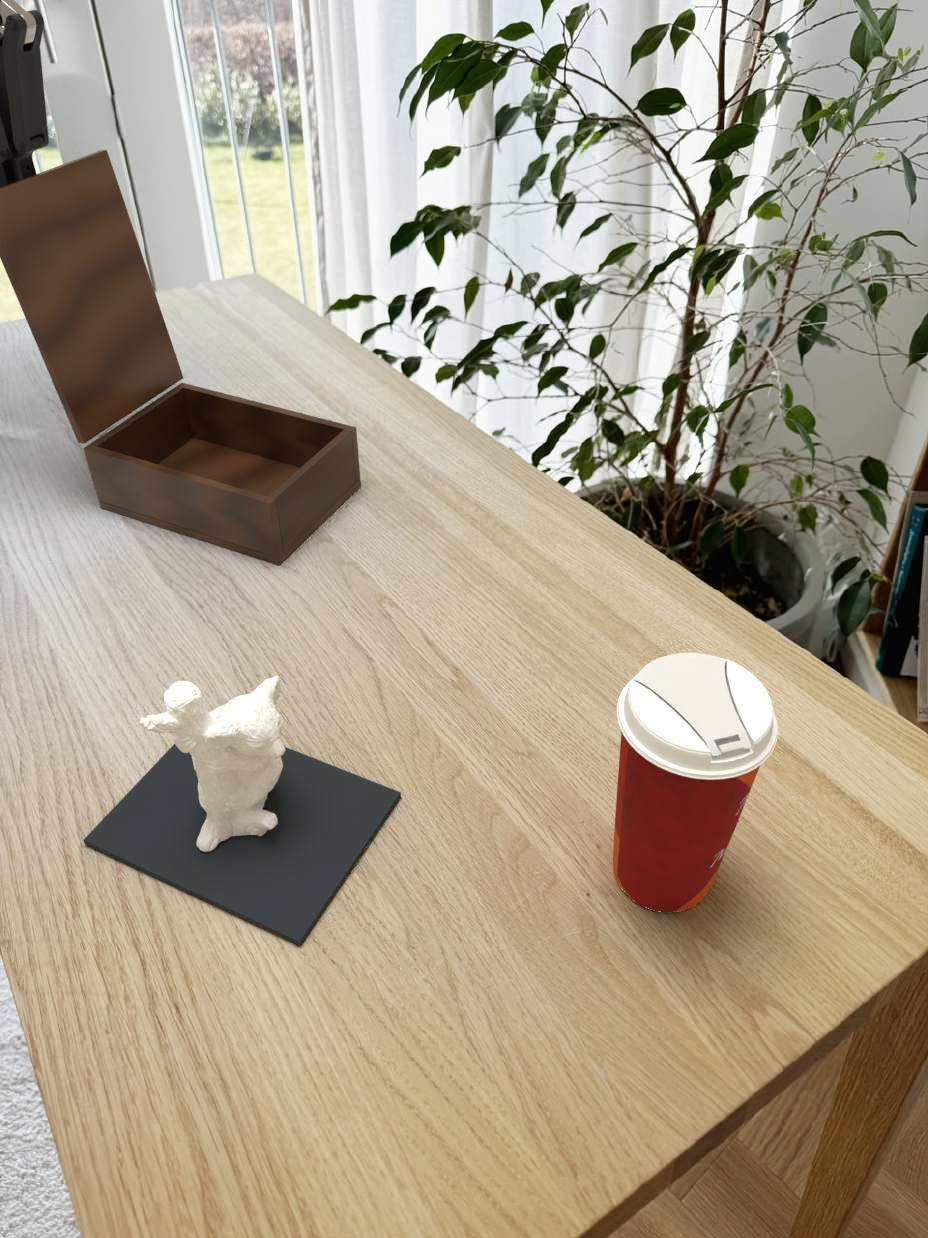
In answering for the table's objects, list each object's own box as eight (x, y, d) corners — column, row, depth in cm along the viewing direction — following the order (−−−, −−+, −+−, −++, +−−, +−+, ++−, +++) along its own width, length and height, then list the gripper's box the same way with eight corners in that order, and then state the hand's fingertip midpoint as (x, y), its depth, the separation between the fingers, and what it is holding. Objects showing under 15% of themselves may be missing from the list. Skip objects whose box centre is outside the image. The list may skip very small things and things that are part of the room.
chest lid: (107, 149, 81) (100, 149, 82) (-19, 196, 72) (-26, 197, 72) (184, 378, 93) (177, 377, 94) (84, 443, 84) (78, 443, 85)
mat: (84, 845, 61) (82, 840, 60) (203, 718, 69) (202, 713, 69) (300, 946, 55) (299, 942, 55) (401, 797, 64) (401, 792, 63)
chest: (361, 486, 92) (356, 427, 87) (279, 565, 82) (269, 503, 78) (193, 439, 98) (181, 382, 94) (100, 508, 89) (82, 448, 85)
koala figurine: (198, 883, 58) (157, 749, 50) (157, 809, 62) (113, 674, 54) (324, 819, 62) (303, 684, 54) (277, 752, 66) (252, 618, 58)
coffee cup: (755, 911, 57) (816, 739, 47) (626, 947, 55) (661, 776, 46) (691, 802, 63) (732, 630, 53) (573, 832, 61) (593, 659, 52)
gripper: (-184, -112, 66) (-61, 239, 81) (-45, -105, 62) (57, 265, 77) (-93, -120, 71) (7, 212, 87) (41, -113, 67) (121, 235, 82)
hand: (30, 237), depth 82 cm, fingers closed
